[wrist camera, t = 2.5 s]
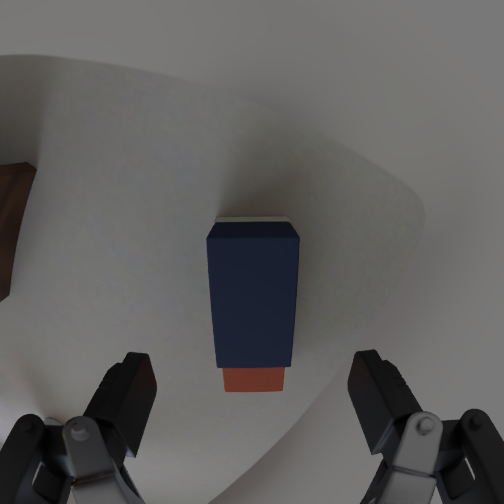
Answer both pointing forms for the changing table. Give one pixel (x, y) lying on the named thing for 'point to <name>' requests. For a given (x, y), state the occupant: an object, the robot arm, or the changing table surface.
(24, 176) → the shoe shelf
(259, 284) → the block
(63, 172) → the changing table surface
